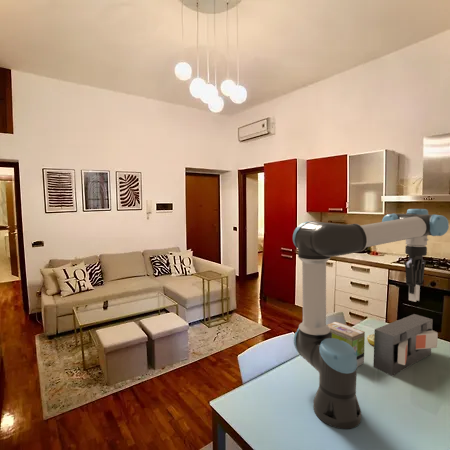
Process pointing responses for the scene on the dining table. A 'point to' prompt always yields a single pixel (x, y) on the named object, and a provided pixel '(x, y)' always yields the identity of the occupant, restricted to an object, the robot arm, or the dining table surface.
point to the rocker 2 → (426, 340)
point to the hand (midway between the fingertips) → (413, 300)
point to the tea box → (349, 338)
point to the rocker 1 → (402, 352)
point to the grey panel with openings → (393, 335)
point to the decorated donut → (371, 339)
